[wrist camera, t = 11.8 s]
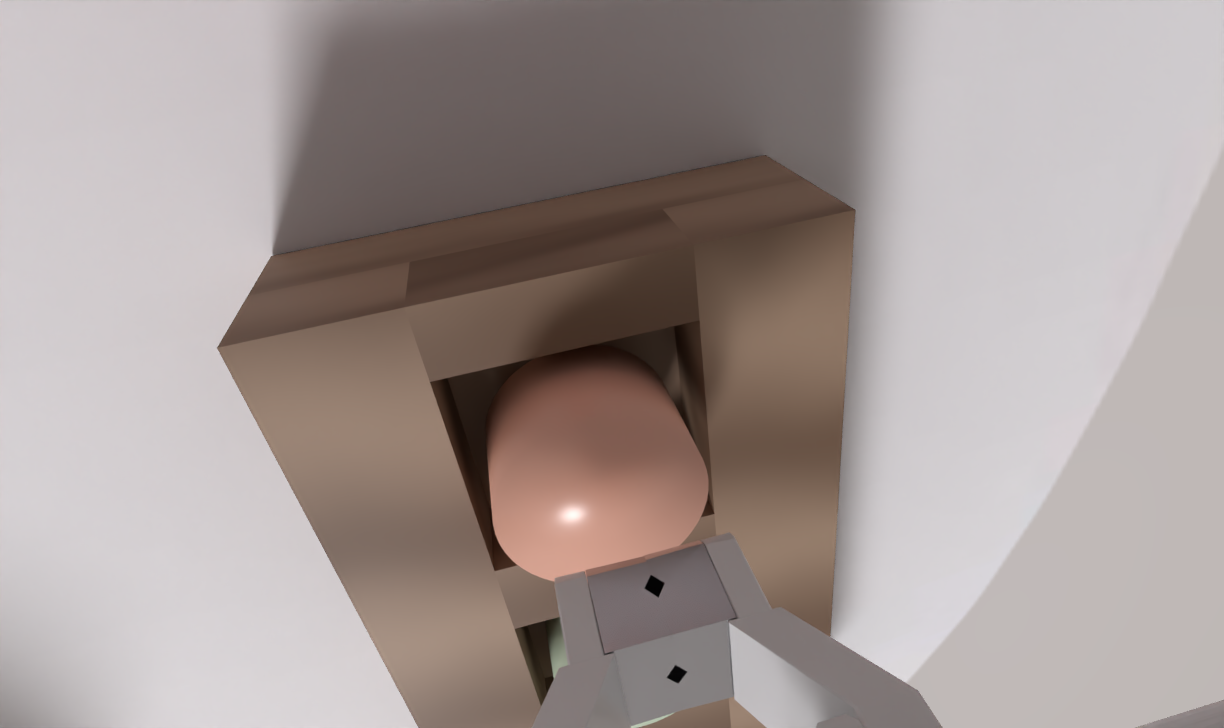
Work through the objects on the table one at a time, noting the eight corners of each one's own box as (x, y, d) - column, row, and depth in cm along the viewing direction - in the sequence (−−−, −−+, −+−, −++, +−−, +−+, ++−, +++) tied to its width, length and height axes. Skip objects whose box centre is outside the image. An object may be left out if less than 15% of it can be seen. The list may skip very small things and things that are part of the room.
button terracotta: (463, 369, 13) (467, 447, 11) (661, 325, 14) (701, 391, 11) (508, 517, 15) (518, 605, 13) (678, 473, 16) (714, 553, 14)
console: (271, 256, 14) (216, 347, 11) (765, 155, 15) (855, 209, 12) (504, 782, 26) (512, 904, 23) (773, 702, 27) (820, 808, 24)
